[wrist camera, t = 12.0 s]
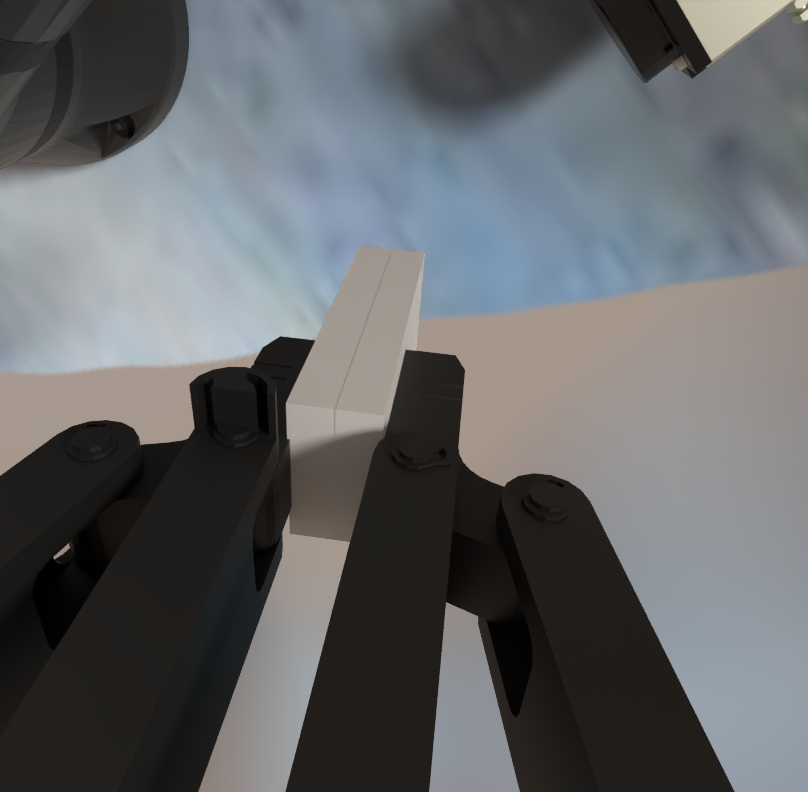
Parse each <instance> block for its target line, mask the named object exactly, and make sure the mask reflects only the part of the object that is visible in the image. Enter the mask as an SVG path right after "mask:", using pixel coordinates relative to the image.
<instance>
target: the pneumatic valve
mask: <svg viewBox="0 0 808 792" xmlns="http://www.w3.org/2000/svg"><path fill="white" fill-rule="evenodd" d="M589 2H590V3H591V5H592V7H593V9H594V10H595V12H596V14H597V15H598V17H599V19H600V20H601V22H602V24H603V25H604V27H605V28H606V30H607V32H608V33H609V35H610V36H611V38H612V39H613V41H614V43H615V44H616V46H617V47H618V49H619V50H620V52H621V53H622V55H623V56H624V58H625V59H626V61H627V62H628V63H629V65H630V66H631V68H632V69H633V70H634V72H635V73H636V75H637V76H638V77H639V78H640V80H641V81H642V82H644V83H647V82H648V81H649V80H651V79H652V78H653V77H655V76H656V75H657V74H659V73H660V72H661V71H663V70H664V69H665V68H666V67H668V66H669V65H670V64H672V63H673V65H674V66H675V68H676V69H677V71H678V72H681V71H682V72H683V73H685V74H686V75H688V76H689V77H690V78H694V77H695V76H696V75H698V74H699V73H700V72H702V71H703V70H704V69H706V68H707V67H708V66H710V65H711V64H713V63H714V62H715V61H717V60H718V59H719V58H721V57H722V56H723V55H725V54H726V53H727V52H729V51H730V50H731V49H733V48H734V47H735V46H737V45H738V44H739V43H741V42H742V41H743V40H745V39H746V38H747V37H749V36H750V35H751V34H753V33H754V32H755V31H757V30H758V29H759V28H761V27H762V26H763V25H765V24H766V23H767V22H769V21H770V20H772V19H773V18H774V17H776V16H777V15H778V14H780V13H781V12H782V11H784V10H785V9H786V11H787V12H788V13H792V16H791V18H790V19H791V21H792V23H793V24H795V25H799V24H801V23H803V22H805V21H807V20H808V0H589Z"/></svg>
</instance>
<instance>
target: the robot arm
mask: <svg viewBox="0 0 808 792" xmlns="http://www.w3.org/2000/svg"><path fill="white" fill-rule="evenodd" d="M188 50H189V26H188V15H187V8H186V2H185V0H0V169H2V168H4V167H6V166H8V165H10V164H12V163H14V162H27V163H39V164H52V165H81V164H88V163H93V162H97V161H101V160H104V159H107V158H110V157H112V156H115V155H117V154H119V153H121V152H122V151H124V150H126V149H128V148H130V147H131V146H133V145H135V144H137V143H138V142H140V141H141V140H143V139H144V138H146V137H147V136H148V135H149V134H151V133H152V132H153V131H154V130H155V129H156V128H157V127H158V126H159V125H160V124H161V122H162V121H163V120H164V119H165V117H166V116H167V115H168V113H169V112H170V110H171V108H172V106H173V105H174V103H175V101H176V99H177V96H178V94H179V92H180V89H181V86H182V83H183V79H184V76H185V71H186V66H187V59H188ZM424 257H425V253H423V252H414V251H405V250H396V249H387V248H378V247H369V246H360V247H359V249H358V251H357V254H356V256H355V258H354V260H353V262H352V264H351V266H350V268H349V271H348V273H347V275H346V277H345V279H344V281H343V283H342V285H341V287H340V290H339V292H338V294H337V296H336V298H335V300H334V302H333V304H332V307H331V309H330V311H329V313H328V315H327V317H326V319H325V321H324V323H323V326H322V328H321V330H320V332H319V334H318V336H317V338H316V340H306V339H298V338H289V337H281V336H280V337H279V338H277V339H276V340H274V341H272V342H271V343H269V344H268V345H266V346H265V347H263V348H262V350H261V352H260V353H259V355H258V357H257V358H256V360H255V362H254V365H252V367H251V368H247V367H226V368H221V369H215V370H211V371H209V372H207V373H204V374H202V375H200V376H198V377H197V378H196V379H195V380H194V381H192V382H191V383H190V393H191V401H192V409H193V418H194V426H195V429H194V430H193V432H192V433H191V435H190V437H189V438H188V439H186V440H183V441H176V442H170V443H157V444H145V445H140V441H139V436H138V435H137V433H136V432H135V430H134V429H133V428H132V427H130V426H128V425H126V424H124V423H121V422H115V421H108V420H104V421H91V422H86V423H83V424H79V425H75V426H72V427H70V428H68V429H67V430H65V431H63V432H61V433H59V434H57V435H56V436H55V437H53V438H52V439H50V440H49V441H48V442H46V443H45V444H44V445H42V446H41V447H39V448H38V449H37V450H35V451H34V452H32V453H31V454H30V455H28V456H27V457H26V458H24V459H23V460H22V461H20V462H19V463H17V464H16V465H15V466H13V467H12V468H10V469H9V470H8V471H6V472H5V473H4V474H2V475H1V476H0V792H198V791H199V788H200V785H201V782H202V780H203V777H204V774H205V771H206V768H207V766H208V763H209V760H210V757H211V754H212V751H213V749H214V745H215V743H216V740H217V737H218V734H219V732H220V729H221V726H222V723H223V720H224V718H225V715H226V712H227V709H228V706H229V704H230V701H231V698H232V695H233V692H234V689H235V687H236V684H237V681H238V678H239V676H240V673H241V670H242V667H243V664H244V661H245V659H246V656H247V653H248V650H249V648H250V645H251V642H252V639H253V636H254V633H255V631H256V627H257V625H258V622H259V620H260V617H261V614H262V611H263V608H264V605H265V603H266V600H267V597H268V594H269V591H270V589H271V586H272V583H273V580H274V577H275V575H276V571H277V569H278V566H279V563H280V560H281V558H282V549H283V541H282V531H283V528H284V525H285V523H286V520H287V518H288V515H289V514H290V516H289V518H290V533H291V534H297V535H304V536H311V537H319V538H326V539H333V540H341V541H348V542H350V544H349V548H348V552H347V556H346V560H345V564H344V568H343V571H342V575H341V579H340V583H339V587H338V591H337V595H336V598H335V603H334V606H333V610H332V614H331V618H330V622H329V626H328V630H327V633H326V637H325V642H324V645H323V649H322V653H321V656H320V660H319V664H318V668H317V672H316V676H315V680H314V684H313V687H312V691H311V695H310V699H309V703H308V707H307V711H306V715H305V718H304V722H303V726H302V730H301V734H300V738H299V742H298V746H297V750H296V753H295V757H294V761H293V765H292V769H291V773H290V776H289V781H288V784H287V789H286V792H429V786H430V775H431V764H432V752H433V740H434V730H435V719H436V708H437V697H438V686H439V674H440V662H441V652H442V641H443V629H444V618H445V617H444V616H445V606H446V602H447V603H450V604H452V605H454V606H456V607H458V608H461V609H463V610H466V611H468V612H470V613H472V614H474V615H477V616H478V625H479V629H480V633H481V637H482V641H483V645H484V649H485V653H486V657H487V661H488V665H489V669H490V673H491V677H492V681H493V685H494V690H495V693H496V698H497V702H498V706H499V709H500V713H501V717H502V722H503V725H504V730H505V733H506V737H507V742H508V746H509V750H510V753H511V758H512V762H513V765H514V770H515V774H516V778H517V782H518V786H519V789H520V792H734V790H733V788H732V786H731V784H730V782H729V780H728V778H727V776H726V774H725V772H724V770H723V768H722V766H721V764H720V762H719V760H718V758H717V756H716V754H715V752H714V750H713V748H712V746H711V744H710V742H709V740H708V738H707V736H706V734H705V732H704V730H703V728H702V726H701V724H700V722H699V719H698V717H697V715H696V714H695V711H694V710H693V708H692V706H691V704H690V702H689V699H688V698H687V695H686V693H685V692H684V689H683V687H682V685H681V684H680V681H679V679H678V677H677V675H676V674H675V671H674V669H673V668H672V665H671V663H670V661H669V659H668V657H667V655H666V653H665V651H664V649H663V648H662V645H661V643H660V641H659V639H658V637H657V635H656V633H655V631H654V629H653V627H652V625H651V623H650V621H649V619H648V617H647V615H646V613H645V611H644V609H643V607H642V605H641V603H640V601H639V599H638V597H637V595H636V593H635V591H634V589H633V587H632V585H631V583H630V581H629V579H628V577H627V575H626V573H625V571H624V569H623V567H622V565H621V563H620V561H619V559H618V557H617V555H616V553H615V551H614V549H613V547H612V545H611V543H610V541H609V539H608V537H607V535H606V533H605V531H604V529H603V527H602V525H601V523H600V521H599V519H598V517H597V515H596V513H595V511H594V509H593V507H592V504H591V503H590V501H589V500H588V498H587V497H586V496H585V495H584V493H583V492H582V491H581V490H580V489H578V488H577V487H576V486H574V485H572V484H571V483H570V482H568V481H566V480H563V479H560V478H557V477H555V476H552V475H544V474H528V475H522V476H518V477H516V478H514V479H513V480H511V481H509V482H508V483H507V484H506V485H505V487H503V486H500V485H498V484H495V483H492V482H490V481H488V480H486V479H483V478H481V477H479V476H478V475H476V474H475V473H474V472H472V471H471V470H470V469H469V468H468V467H467V466H466V465H465V464H464V463H463V461H462V459H461V457H460V455H459V449H458V444H459V432H460V420H461V410H462V409H461V408H462V397H463V386H464V374H465V370H464V368H463V366H462V365H461V363H460V362H459V360H458V359H457V357H456V356H455V355H447V354H439V353H431V352H430V353H429V352H422V351H416V346H417V334H418V324H419V313H420V302H421V291H422V280H423V269H424ZM68 543H69V545H70V548H69V549H68V550H67V551H66V552H65V553H64V554H63V555H61V556H60V557H58V558H56V559H55V560H54V558H53V557H54V556H55V555H56V554H57V553H58V552H59V551H60V550H61V549H62V548H64V547H65V546H66V545H67V544H68Z"/></svg>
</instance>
